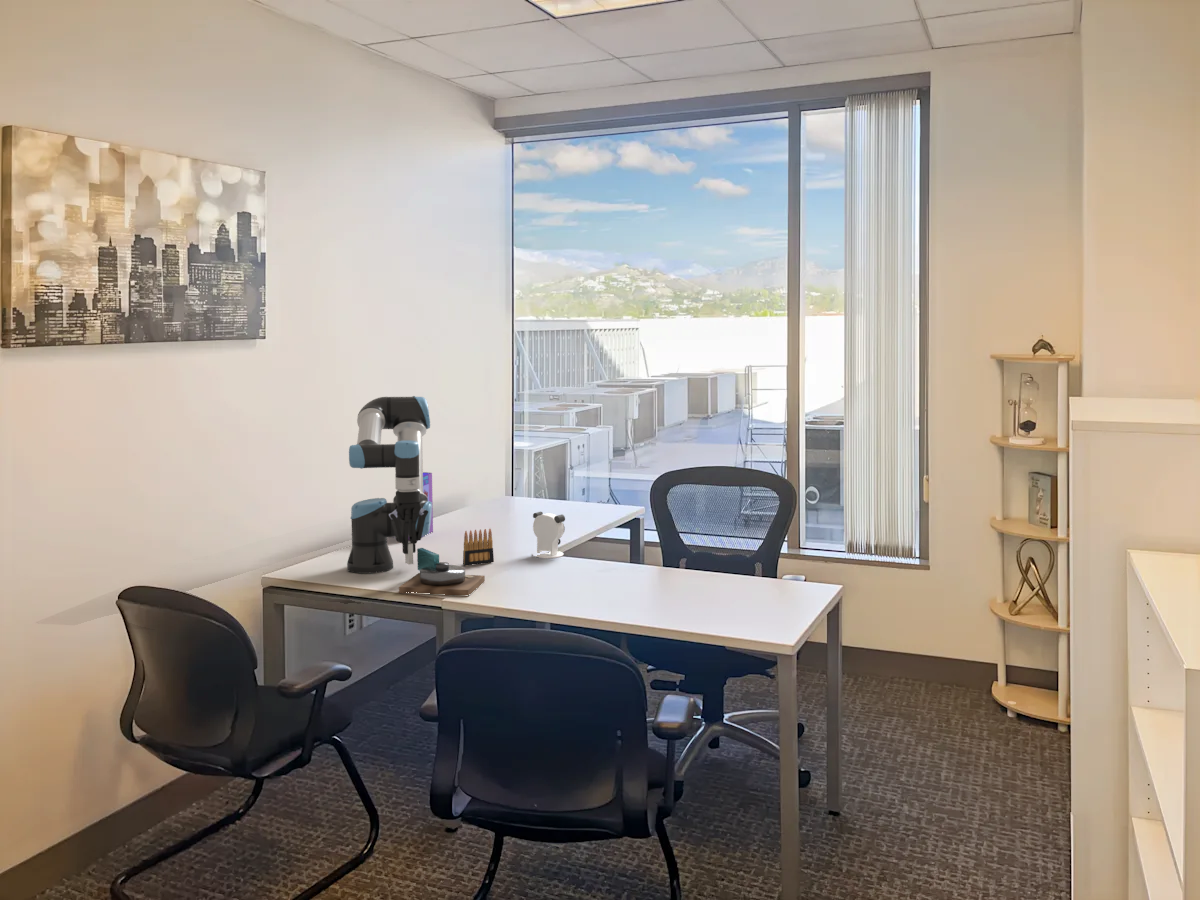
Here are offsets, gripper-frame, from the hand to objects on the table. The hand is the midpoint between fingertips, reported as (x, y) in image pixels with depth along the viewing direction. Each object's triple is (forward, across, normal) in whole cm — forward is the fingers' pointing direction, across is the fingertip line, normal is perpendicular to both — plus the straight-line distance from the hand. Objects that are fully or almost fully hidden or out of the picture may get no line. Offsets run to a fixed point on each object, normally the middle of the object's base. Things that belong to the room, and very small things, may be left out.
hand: (409, 563), depth 319 cm
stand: (+6, +6, -11) cm, 14 cm away
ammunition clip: (+7, +31, +12) cm, 33 cm away
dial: (+4, +6, -6) cm, 10 cm away
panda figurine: (+7, +58, +9) cm, 59 cm away
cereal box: (+7, +33, +65) cm, 73 cm away
